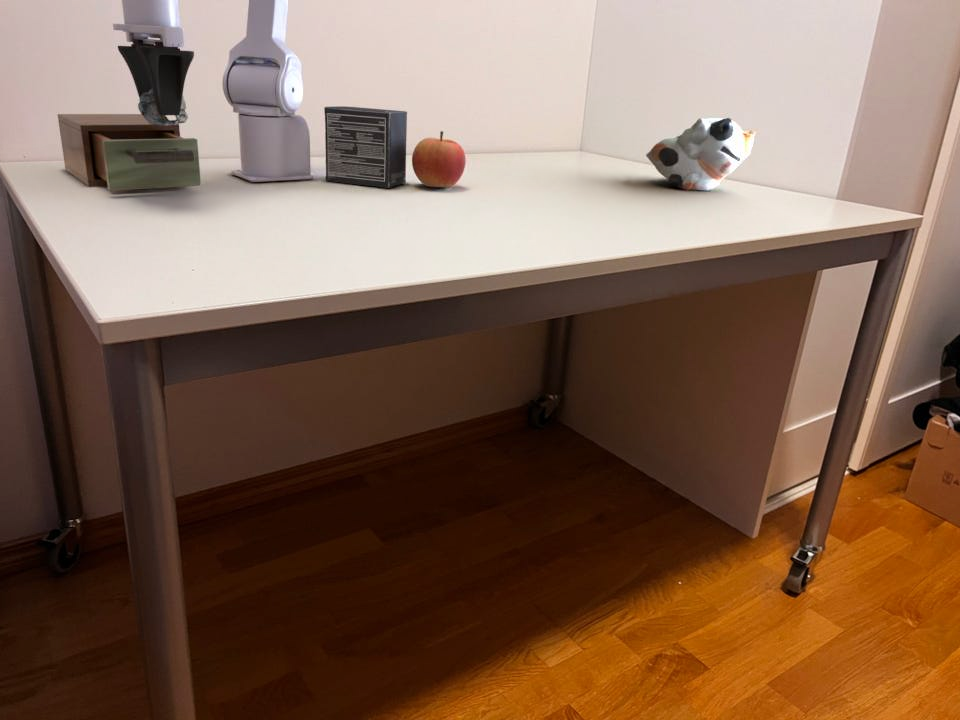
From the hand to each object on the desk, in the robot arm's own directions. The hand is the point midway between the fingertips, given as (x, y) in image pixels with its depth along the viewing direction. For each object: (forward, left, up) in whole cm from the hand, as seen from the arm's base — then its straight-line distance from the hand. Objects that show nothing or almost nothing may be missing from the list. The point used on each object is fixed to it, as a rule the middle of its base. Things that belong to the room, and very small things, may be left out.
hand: (161, 112), depth 88 cm
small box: (-30, -5, -11) cm, 32 cm away
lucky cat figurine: (-82, +15, -11) cm, 84 cm away
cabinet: (0, -20, -10) cm, 22 cm away
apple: (-38, +2, -11) cm, 39 cm away
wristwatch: (0, 0, -2) cm, 2 cm away
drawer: (0, -8, -9) cm, 12 cm away
